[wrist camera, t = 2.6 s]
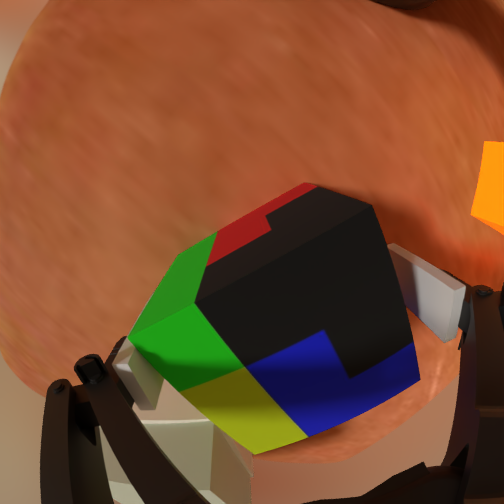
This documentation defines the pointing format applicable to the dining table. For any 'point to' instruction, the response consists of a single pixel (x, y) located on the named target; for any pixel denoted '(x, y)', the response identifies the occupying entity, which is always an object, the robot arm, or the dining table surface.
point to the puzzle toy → (283, 320)
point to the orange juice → (491, 187)
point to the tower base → (186, 419)
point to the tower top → (189, 463)
